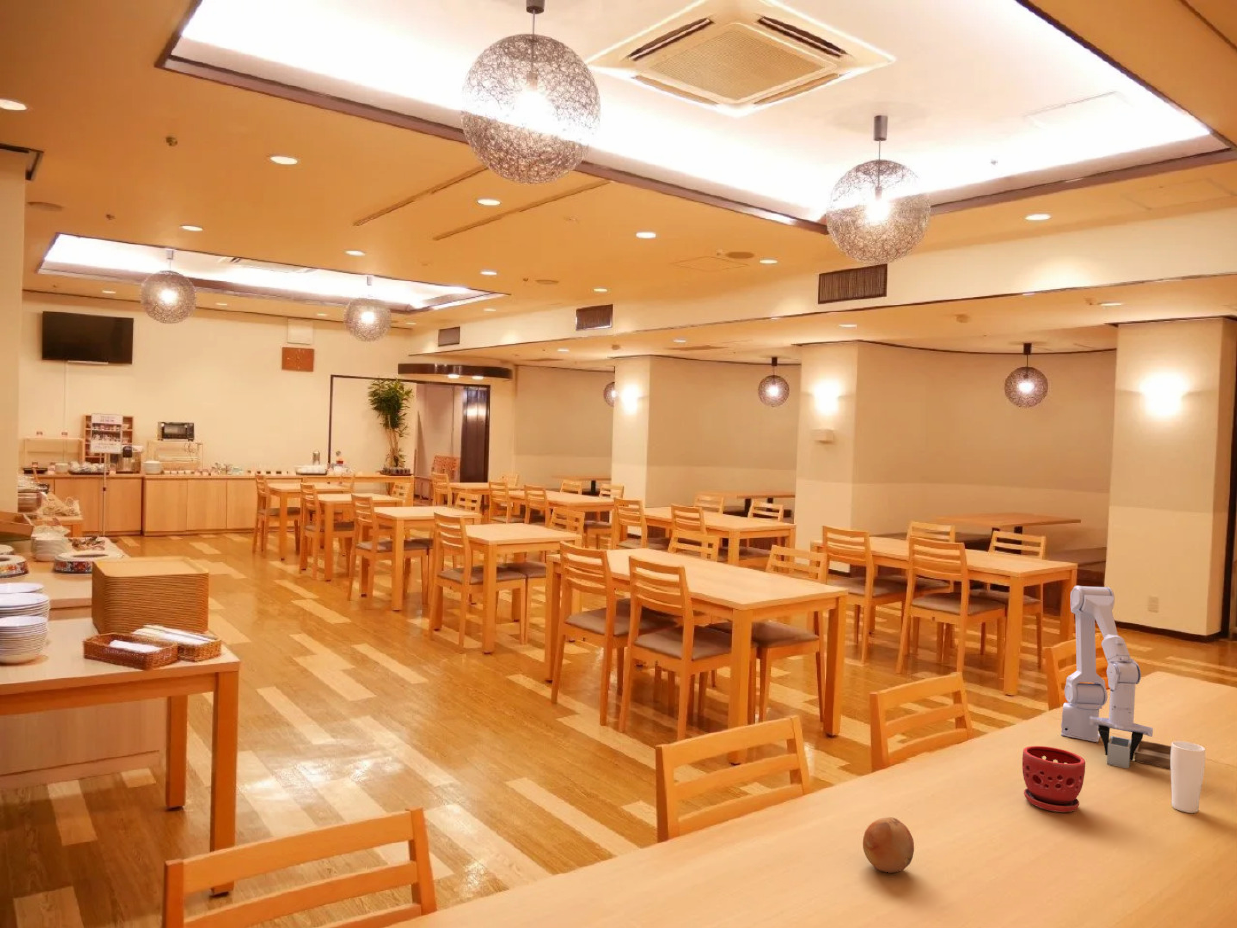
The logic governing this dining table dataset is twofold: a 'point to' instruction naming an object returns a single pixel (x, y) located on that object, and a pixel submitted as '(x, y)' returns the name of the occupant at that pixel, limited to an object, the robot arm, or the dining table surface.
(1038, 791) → the plant pot
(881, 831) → the onion
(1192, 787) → the white cup
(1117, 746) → the small crate
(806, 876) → the dining table surface
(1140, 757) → the walnut crate
